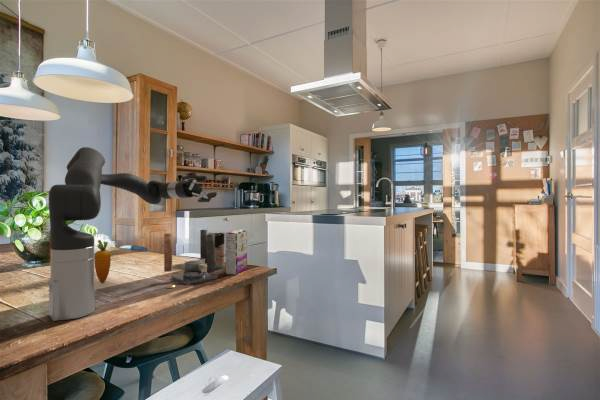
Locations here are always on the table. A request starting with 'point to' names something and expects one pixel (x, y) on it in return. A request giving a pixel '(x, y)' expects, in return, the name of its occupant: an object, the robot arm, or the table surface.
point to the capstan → (200, 265)
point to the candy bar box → (236, 251)
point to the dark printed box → (219, 248)
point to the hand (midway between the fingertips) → (210, 186)
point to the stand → (192, 277)
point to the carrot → (102, 262)
